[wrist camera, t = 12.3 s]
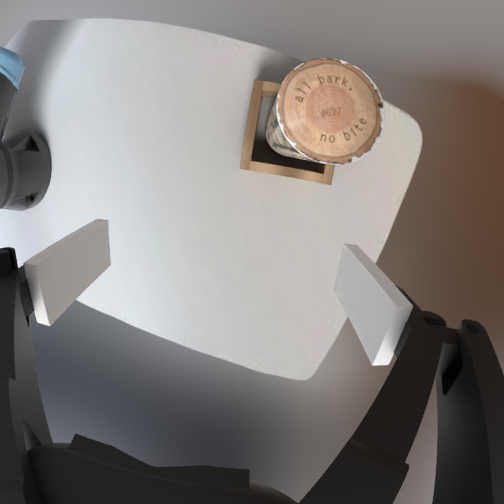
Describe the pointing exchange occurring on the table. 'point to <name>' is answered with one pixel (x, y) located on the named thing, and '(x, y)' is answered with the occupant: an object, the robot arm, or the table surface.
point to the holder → (320, 176)
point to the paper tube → (326, 113)
